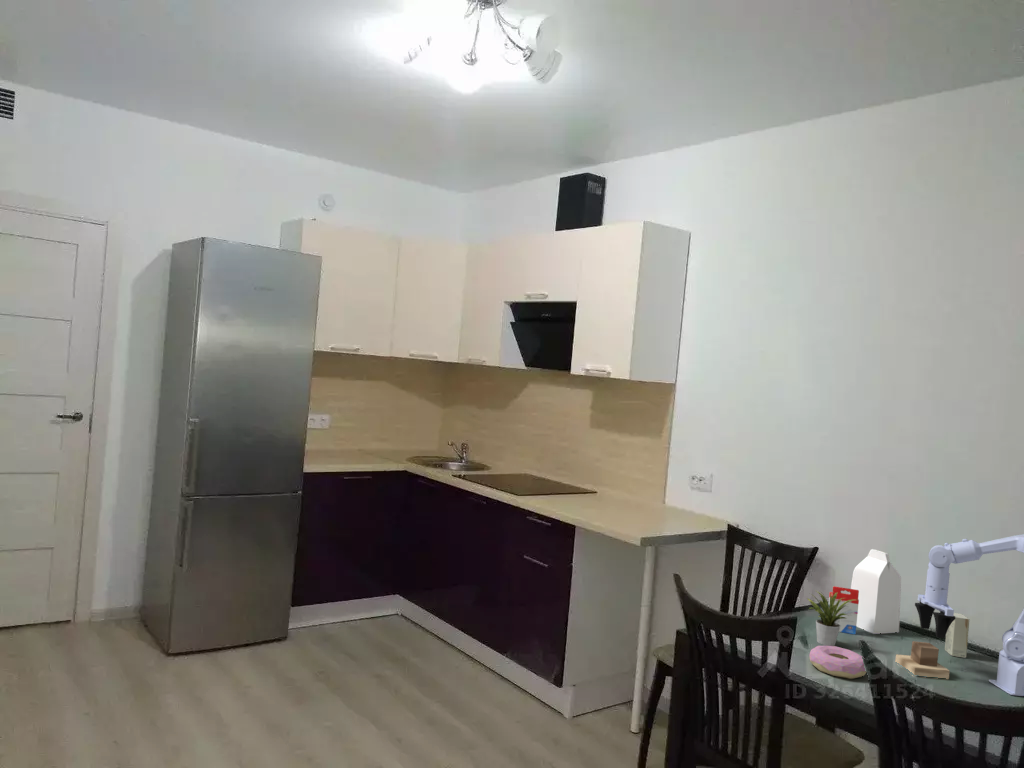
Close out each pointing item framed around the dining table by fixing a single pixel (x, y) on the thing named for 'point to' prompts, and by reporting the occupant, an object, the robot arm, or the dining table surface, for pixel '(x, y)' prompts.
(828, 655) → the donut
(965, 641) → the skincare box
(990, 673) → the dining table surface
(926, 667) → the oak block
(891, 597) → the milk
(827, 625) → the house plant
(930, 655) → the walnut cube
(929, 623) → the robot arm
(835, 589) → the ink box
